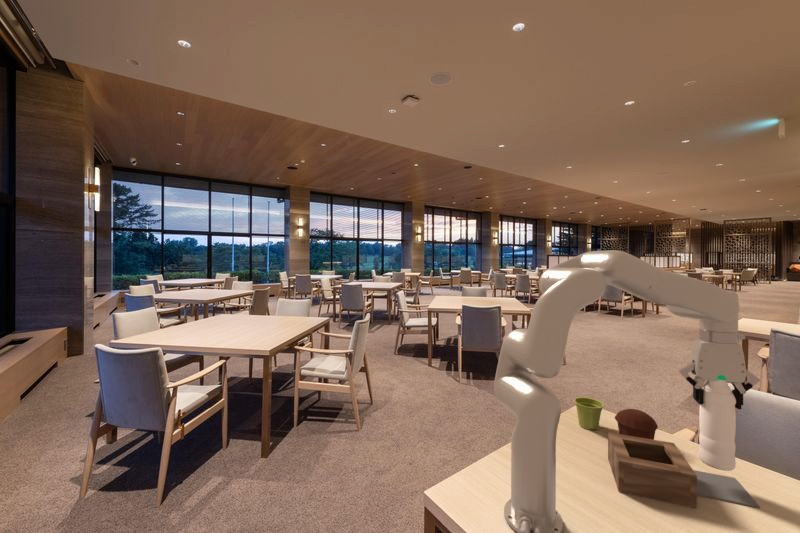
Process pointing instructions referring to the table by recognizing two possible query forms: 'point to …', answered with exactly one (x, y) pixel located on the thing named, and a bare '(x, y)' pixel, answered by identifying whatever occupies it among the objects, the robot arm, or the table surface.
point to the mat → (723, 489)
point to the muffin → (636, 424)
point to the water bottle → (717, 425)
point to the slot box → (652, 470)
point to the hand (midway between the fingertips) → (717, 404)
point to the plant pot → (588, 412)
